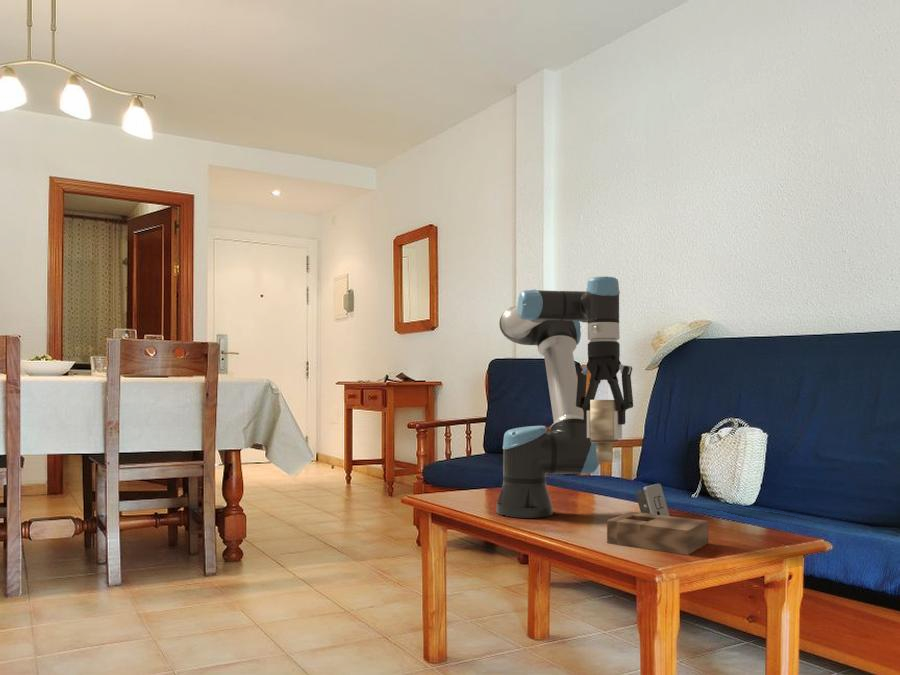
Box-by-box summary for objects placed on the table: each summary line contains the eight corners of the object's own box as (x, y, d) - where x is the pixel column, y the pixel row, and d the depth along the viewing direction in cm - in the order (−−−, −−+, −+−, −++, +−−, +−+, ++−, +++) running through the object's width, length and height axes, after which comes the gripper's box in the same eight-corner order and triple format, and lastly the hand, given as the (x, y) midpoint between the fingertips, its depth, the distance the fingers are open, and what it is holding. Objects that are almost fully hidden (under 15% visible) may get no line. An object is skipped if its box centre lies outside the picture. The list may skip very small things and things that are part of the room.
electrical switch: (656, 524, 187) (652, 487, 188) (636, 523, 190) (633, 487, 191) (670, 519, 194) (667, 483, 195) (651, 518, 198) (648, 483, 199)
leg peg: (585, 461, 174) (585, 399, 175) (597, 459, 179) (597, 399, 181) (611, 462, 170) (610, 399, 171) (622, 461, 175) (622, 400, 177)
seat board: (607, 542, 164) (607, 520, 165) (631, 532, 176) (631, 511, 176) (687, 555, 154) (687, 530, 154) (708, 543, 165) (708, 520, 165)
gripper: (560, 341, 180) (560, 437, 178) (635, 338, 168) (636, 440, 166) (574, 343, 186) (575, 436, 184) (648, 340, 174) (649, 439, 172)
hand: (604, 438), depth 175 cm, fingers closed on leg peg, 6 cm apart
